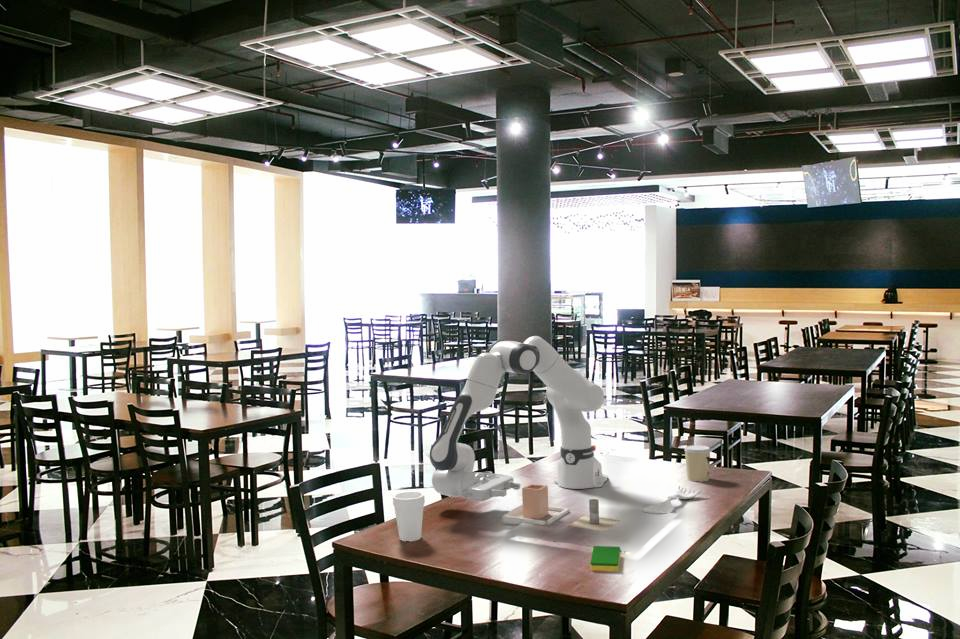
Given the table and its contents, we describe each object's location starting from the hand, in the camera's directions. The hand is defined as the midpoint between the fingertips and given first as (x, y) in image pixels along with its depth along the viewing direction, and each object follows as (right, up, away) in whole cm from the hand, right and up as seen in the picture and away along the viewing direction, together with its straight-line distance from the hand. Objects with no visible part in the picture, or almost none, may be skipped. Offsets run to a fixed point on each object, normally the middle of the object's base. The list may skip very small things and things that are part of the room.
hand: (512, 490), depth 250 cm
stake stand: (+24, -8, -14) cm, 29 cm away
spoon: (+53, -7, +6) cm, 54 cm away
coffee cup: (+71, -5, +40) cm, 82 cm away
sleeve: (+7, -8, -4) cm, 11 cm away
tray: (+7, -9, -4) cm, 12 cm away
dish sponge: (+23, -10, -44) cm, 50 cm away
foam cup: (-31, -11, -18) cm, 38 cm away
